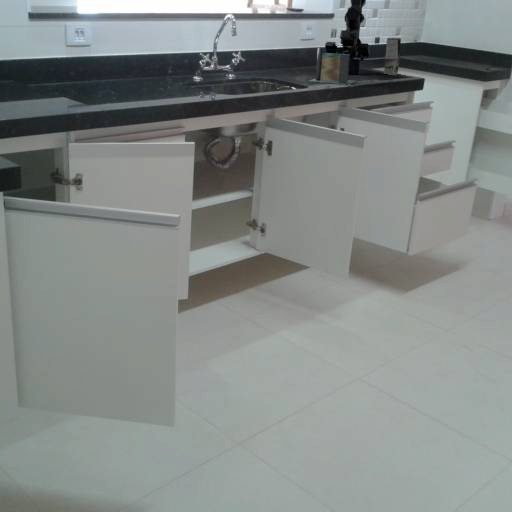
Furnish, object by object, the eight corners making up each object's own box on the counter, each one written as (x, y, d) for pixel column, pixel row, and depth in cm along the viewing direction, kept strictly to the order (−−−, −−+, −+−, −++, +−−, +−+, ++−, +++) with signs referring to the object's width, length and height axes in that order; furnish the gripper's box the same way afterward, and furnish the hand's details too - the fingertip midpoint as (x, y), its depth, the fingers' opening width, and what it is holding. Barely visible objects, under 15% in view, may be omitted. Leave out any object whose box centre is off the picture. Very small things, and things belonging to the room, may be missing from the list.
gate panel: (320, 79, 306) (322, 53, 302) (321, 79, 307) (323, 52, 303) (346, 81, 302) (348, 54, 298) (347, 81, 303) (349, 54, 299)
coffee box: (397, 75, 332) (401, 39, 326) (383, 74, 333) (386, 39, 327) (398, 73, 340) (401, 37, 334) (384, 72, 341) (387, 37, 335)
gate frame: (314, 81, 307) (316, 47, 301) (317, 81, 309) (318, 47, 303) (344, 84, 300) (347, 50, 295) (347, 84, 302) (349, 49, 297)
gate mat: (309, 81, 306) (309, 80, 306) (317, 78, 315) (317, 77, 315) (349, 85, 299) (349, 83, 299) (356, 81, 309) (356, 80, 309)
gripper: (327, 22, 303) (318, 51, 297) (370, 23, 297) (362, 53, 291) (331, 39, 313) (323, 68, 307) (373, 41, 306) (365, 71, 301)
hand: (343, 65), depth 301 cm, fingers closed on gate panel
